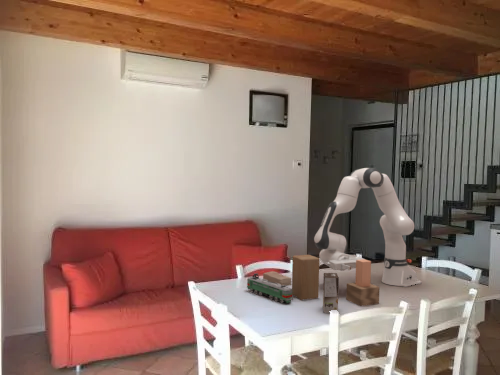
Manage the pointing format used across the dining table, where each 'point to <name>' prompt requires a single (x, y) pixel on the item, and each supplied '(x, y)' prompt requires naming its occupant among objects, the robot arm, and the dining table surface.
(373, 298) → the tower base
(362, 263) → the terracotta block
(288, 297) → the toy train
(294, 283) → the wooden block
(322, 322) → the dining table surface
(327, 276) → the coffee box
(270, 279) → the brick
